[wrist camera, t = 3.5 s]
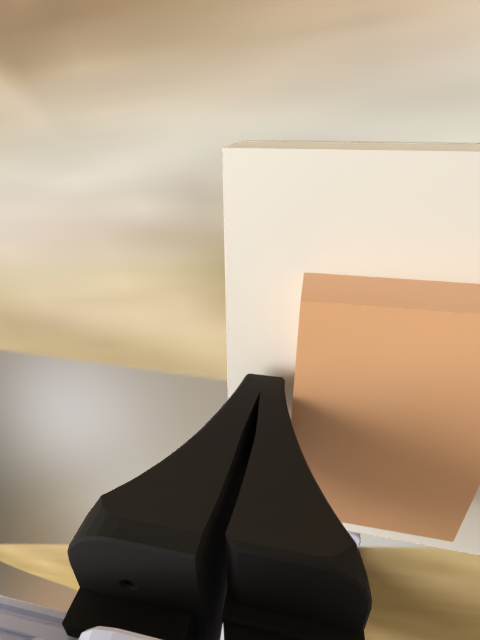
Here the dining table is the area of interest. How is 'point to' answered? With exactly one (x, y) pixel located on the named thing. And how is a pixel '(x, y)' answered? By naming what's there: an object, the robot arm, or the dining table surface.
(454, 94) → the dining table surface
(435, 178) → the cream flat block
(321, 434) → the tile
